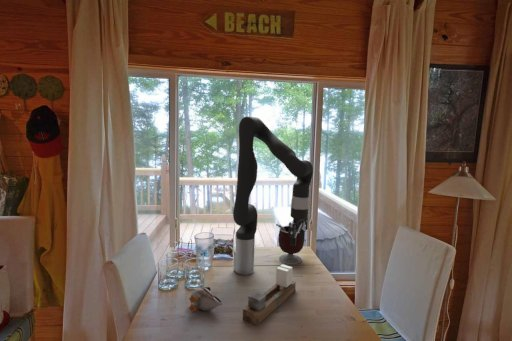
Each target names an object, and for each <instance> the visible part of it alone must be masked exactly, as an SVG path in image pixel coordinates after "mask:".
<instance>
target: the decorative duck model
mask: <svg viewBox="0 0 512 341" xmlns="http://www.w3.org/2000/svg"><path fill="white" fill-rule="evenodd" d="M188 300H189V302H190V306H189V307H188V309H189V310H190V313H193V312H195V311H196V310H198V309H199V310H201V311H210V310H214V309H217V308H219V307H220V306H222V305H223V304H222V300H221V299H220V298H218V297H217V296H216V295H215V294H213V293H212V292H211V287H210V286H204V287H198V288H196V289H194V290H193V292H192V294H191V295H190V297H189V298H188Z"/></svg>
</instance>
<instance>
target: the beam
mask: <svg viewBox="0 0 512 341" xmlns="http://www.w3.org/2000/svg"><path fill="white" fill-rule="evenodd" d="M296 286H297V283H296V281H294V280H292V283H291V284H290V285H289V286H288V287H287V288H286V287H284V288H283V289H282V290H280V289H279V288H280V285H277V284H276V283H275V284H274V285H272V286H271V287H270V288H269V289H267V290H265V291H264V292H263V293H259V292H257V291H253V292H252V293H251V294H249V295H248V296H247V297H248V302H247V303H248V305H247V306H245V307H244V308H242V320H243V321H245V322H248V323H250V324H252V325H254V326H258V325H259V324H260V323H261V322H262V321H263V320H264V319H266V318H267V317H268V316H269V315H270V314H271V313H272V312H273V311H275V310H276V308H278V307H279V306H280V305H281V304H283V302H284V301H286V300H287V299H288V298H289V297H290V296H291V295H292V294H294V292H296Z"/></svg>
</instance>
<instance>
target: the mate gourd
mask: <svg viewBox="0 0 512 341" xmlns="http://www.w3.org/2000/svg"><path fill="white" fill-rule="evenodd" d="M275 226H277V227H278V228H279V231H278V237H277V238H278V246H279V248H280V250H281V251H282V252H283V253H285V254H282V255H279V259H278V260H279V261H280V263H282V264H284V265H286V264H287V265H298V263H299V264H301V263H302V262H303V261H302V260H303V259H302V257H301V256H299V255H296V254H298V253H300V252H301V250H303V247H304V244H305V239H304V240H303V241H302V240H300V239H299V235H300V231H299V233H297V236H296V245H295V246H292V245H290V242H291V237H290V236H288V230H289V225H284V226H282V225H280V224H278V223H276V224H275ZM301 261H302V262H301Z"/></svg>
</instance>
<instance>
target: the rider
mask: <svg viewBox="0 0 512 341" xmlns="http://www.w3.org/2000/svg"><path fill="white" fill-rule="evenodd" d="M293 269H294V268H293V266H290V265H288V264H287V265H286V264H284V263H282V264H281V265H278V266H277V267H276V271H275V272H276V273H275V274H276V275H275V284H277V285H280V288H279V289H280V290H282V289H283V288H284V287H286V288H287V287H288V286H289V285H290V284H291V283H292V281H293Z"/></svg>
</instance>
